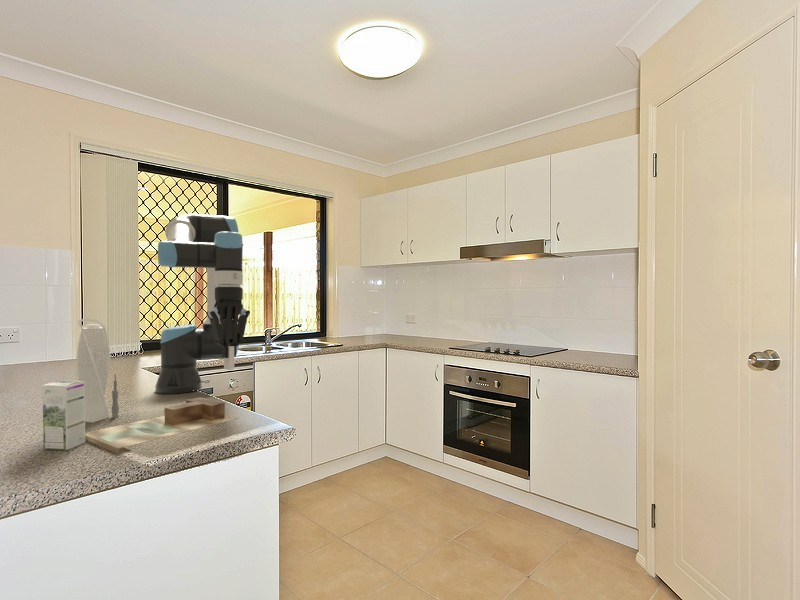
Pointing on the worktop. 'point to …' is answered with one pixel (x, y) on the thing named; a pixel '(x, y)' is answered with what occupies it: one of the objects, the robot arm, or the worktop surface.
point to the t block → (194, 411)
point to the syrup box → (63, 415)
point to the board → (143, 432)
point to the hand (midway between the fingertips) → (229, 369)
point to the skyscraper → (95, 371)
